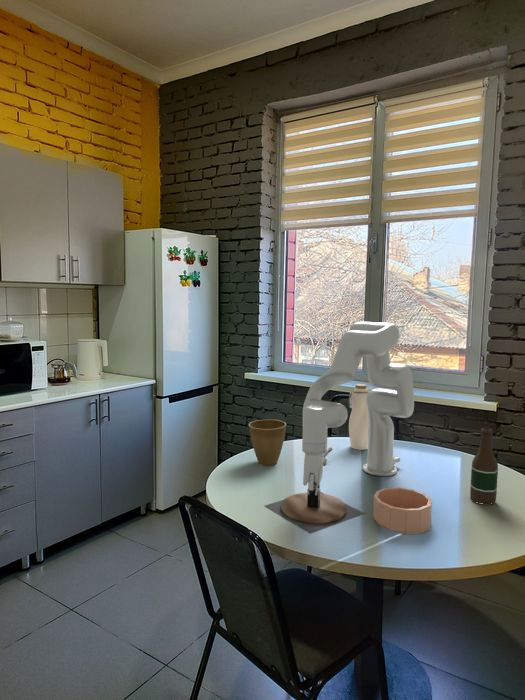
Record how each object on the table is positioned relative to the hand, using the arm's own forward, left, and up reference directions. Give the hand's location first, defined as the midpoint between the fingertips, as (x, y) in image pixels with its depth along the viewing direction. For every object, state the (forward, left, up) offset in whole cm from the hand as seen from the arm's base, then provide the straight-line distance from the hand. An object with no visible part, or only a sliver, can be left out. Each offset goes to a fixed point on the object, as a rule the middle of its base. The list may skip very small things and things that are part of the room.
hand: (313, 503), depth 148 cm
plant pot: (-14, -44, -3) cm, 46 cm away
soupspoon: (-37, -36, -3) cm, 52 cm away
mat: (0, 0, -2) cm, 2 cm away
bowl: (-17, +20, -2) cm, 26 cm away
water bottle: (-59, -37, -3) cm, 70 cm away
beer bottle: (-50, +26, -3) cm, 57 cm away
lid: (0, 0, -2) cm, 2 cm away
